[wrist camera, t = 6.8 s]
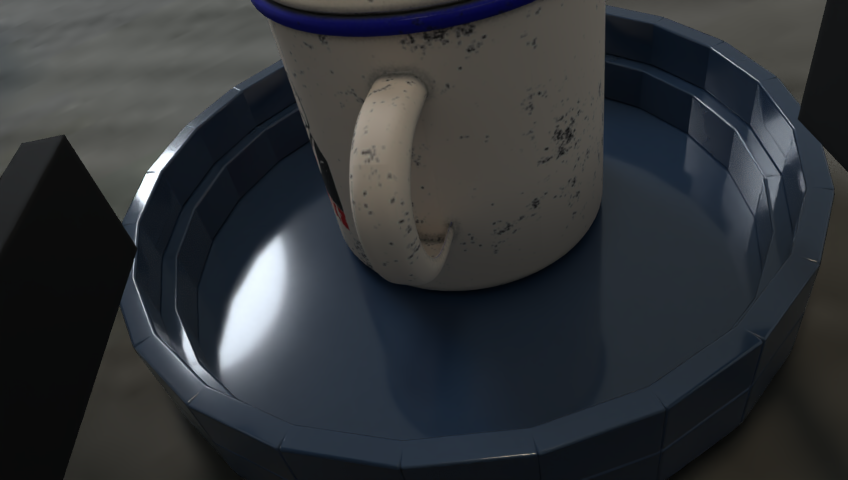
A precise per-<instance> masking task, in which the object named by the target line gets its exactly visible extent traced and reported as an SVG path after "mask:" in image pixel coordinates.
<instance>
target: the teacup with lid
mask: <svg viewBox="0 0 848 480" xmlns="http://www.w3.org/2000/svg"><path fill="white" fill-rule="evenodd" d="M251 2H252V3H253V5H254V6H255V7H256V9H257V10H258V11H260V12H261V13H262V14H263V15H264V16H266V17H267V19H268V21H269V24H270V27H271V30H272V33H273V36H274V39H275V42H276V45H277V47H278V50H279V53H280V56H281V59H282V62H283V65H284V68H285V71H286V73H287V76H288V79H289V82H290V85H291V88H292V91H293V94H294V97H295V99H296V102H297V105H298V108H299V111H300V114H301V117H302V120H303V123H304V125H305V128H306V131H307V134H308V137H309V140H310V143H311V146H312V149H313V151H314V154H315V157H316V160H317V163H318V166H319V169H320V172H321V175H322V178H323V180H324V183H325V186H326V189H327V192H328V195H329V198H330V201H331V204H332V206H333V209H334V212H335V215H336V218H337V221H338V224H339V227H340V230H341V232H342V235H343V237H344V239H345V241H346V243H347V244H348V246H349V248H350V249H351V250H352V252H353V253H354V254H355V255H356V256H357V257H358V258H359V259H360V260H361V261H362V262H363V263H364V264H365V265H367V266H368V267H369V268H371V269H372V270H374V271H375V272H377V273H378V274H379V275H380V276H381V277H383V278H384V279H386V280H387V281H389V282H392V283H395V284H402V285H409V286H413V287H417V288H422V289H429V290H438V291H468V290H478V289H484V288H490V287H495V286H499V285H503V284H507V283H510V282H513V281H516V280H519V279H522V278H524V277H527V276H529V275H531V274H533V273H536V272H538V271H540V270H542V269H543V268H545V267H547V266H549V265H550V264H552V263H554V262H555V261H557V260H558V259H559V258H561V257H562V256H564V255H565V254H566V253H567V252H568V251H570V250H571V249H572V248H573V247H574V246H575V245H576V244H577V243H578V242H579V241H580V240H581V239H582V238H583V236H584V235H585V234H586V232H587V231H588V230H589V228H590V226H591V225H592V223H593V221H594V219H595V217H596V215H597V213H598V210H599V207H600V203H601V199H602V190H603V133H604V70H605V7H606V0H251Z"/></svg>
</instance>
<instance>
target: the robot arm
mask: <svg viewBox="0 0 848 480" xmlns="http://www.w3.org/2000/svg"><path fill="white" fill-rule="evenodd" d="M798 120H799V121H800V122H801V123H802V124H803V125H804V126H805V127H806V128H807V130H808V131H809V132H810V133H811V134H812V135H813V136H814V137H815V138H816V139H817V140H818V141H819V142H820V143H821V144H822V145H823V146H824V147H825V148H826V149H827V151H828V152H829V153H830V154H831V155H832V156H833V157H834V158H835V159H836V160H837V161H838V162H839V163H840V164H841V165H842V166H843V167H844V168H845V169H846V171H847V172H848V0H827V3H826V7H825V11H824V15H823V19H822V23H821V27H820V31H819V35H818V39H817V43H816V47H815V51H814V55H813V59H812V63H811V67H810V71H809V75H808V79H807V83H806V87H805V91H804V95H803V99H802V103H801V107H800V111H799V115H798ZM137 249H138V248H137V247H136V245H135V244H134V242H133V241H132V239H131V237H130V236H129V234H128V233H127V231H126V230H125V228H124V227H123V225H122V223H121V222H120V220H119V219H118V217H117V216H116V214H115V213H114V211H113V209H112V208H111V206H110V205H109V203H108V202H107V200H106V199H105V197H104V196H103V194H102V192H101V191H100V189H99V188H98V186H97V185H96V183H95V182H94V180H93V178H92V177H91V175H90V174H89V172H88V171H87V169H86V168H85V166H84V164H83V163H82V161H81V160H80V158H79V157H78V155H77V154H76V152H75V150H74V149H73V147H72V146H71V144H70V143H69V141H68V140H67V138H66V136H65V135H60V136H55V137H51V138H46V139H41V140H36V141H31V142H26V143H22V144H21V146H20V147H19V149H18V150H17V152H16V154H15V155H14V157H13V158H12V160H11V162H10V163H9V165H8V167H7V168H6V170H5V171H4V173H3V175H2V176H1V178H0V480H63V478H64V475H65V472H66V469H67V466H68V463H69V459H70V456H71V453H72V450H73V447H74V444H75V441H76V438H77V435H78V432H79V428H80V425H81V422H82V419H83V416H84V413H85V410H86V407H87V404H88V401H89V398H90V394H91V391H92V388H93V385H94V382H95V379H96V376H97V373H98V370H99V367H100V364H101V360H102V357H103V354H104V351H105V348H106V345H107V342H108V339H109V336H110V333H111V329H112V326H113V323H114V320H115V317H116V314H117V311H118V308H119V305H120V302H121V299H122V295H123V292H124V289H125V286H126V283H127V280H128V277H129V274H130V271H131V268H132V264H133V261H134V258H135V255H136V252H137Z"/></svg>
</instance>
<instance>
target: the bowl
mask: <svg viewBox="0 0 848 480" xmlns="http://www.w3.org/2000/svg"><path fill="white" fill-rule="evenodd" d="M800 107H801V106H800V104H799V103H798V102H797V100H796V99H795V98H794V97H793V95H792V94H791V93H790V92H789V90H788V89H787V88H786V87H785V85H784V84H783V83H782V82H781V80H780V79H779V78H777V76H775V75H774V74H772V73H771V72H769V71H768V70H766V69H765V68H763V67H762V66H760V65H759V64H758V63H756V62H755V61H753V60H752V59H750V58H749V57H747V56H746V55H744V54H743V53H741V52H740V51H738V50H737V49H735V48H734V47H733V46H731V45H730V44H728V43H727V42H724V41H723V40H720V39H718V38H715V37H713V36H710V35H708V34H705V33H703V32H700V31H698V30H695V29H692V28H690V27H687V26H685V25H682V24H680V23H677V22H675V21H672V20H670V19H667V18H664V17H661V16H656V15H651V14H646V13H641V12H637V11H632V10H627V9H622V8H617V7H613V6H608V5H606V7H605V70H604V133H603V190H602V199H601V203H600V207H599V210H598V213H597V215H596V217H595V219H594V221H593V223H592V225H591V226H590V228H589V230H588V231H587V232H586V234H585V235H584V236H583V238H582V239H581V240H580V241H579V242H578V243H577V244H576V245H575V246H574V247H573V248H572V249H571V250H570V251H568V252H567V253H566V254H565V255H564V256H562V257H561V258H559V259H558V260H557V261H555V262H554V263H552V264H550V265H549V266H547V267H545V268H543V269H542V270H540V271H538V272H536V273H533V274H531V275H529V276H527V277H524V278H522V279H519V280H516V281H513V282H510V283H507V284H503V285H499V286H495V287H490V288H484V289H478V290H468V291H438V290H429V289H422V288H417V287H413V286H409V285H402V284H395V283H392V282H389V281H387V280H386V279H384V278H383V277H381V276H380V275H379V274H378V273H377V272H375V271H374V270H372V269H371V268H369V267H368V266H367V265H365V264H364V263H363V262H362V261H361V260H360V259H359V258H358V257H357V256H356V255H355V254H354V253H353V252H352V250H351V249H350V248H349V246H348V244H347V243H346V241H345V239H344V237H343V235H342V232H341V230H340V227H339V224H338V221H337V218H336V215H335V212H334V209H333V206H332V204H331V201H330V198H329V195H328V192H327V189H326V186H325V183H324V180H323V178H322V175H321V172H320V169H319V166H318V163H317V160H316V157H315V154H314V151H313V149H312V146H311V143H310V140H309V137H308V134H307V131H306V128H305V125H304V123H303V120H302V117H301V114H300V111H299V108H298V105H297V102H296V99H295V97H294V94H293V91H292V88H291V85H290V82H289V79H288V76H287V73H286V71H285V68H284V65H283V62H282V59H281V60H280V61H278V62H276V63H274V64H273V65H271V66H269V67H268V68H266V69H264V70H262V71H261V72H259V73H257V74H256V75H254V76H252V77H250V78H249V79H247V80H245V81H244V82H242V83H240V84H238V85H237V86H235V87H234V88H233V89H231V90H229V91H228V92H227V93H226V94H224V95H223V96H222V97H221V98H219V99H218V100H217V101H216V102H214V103H213V104H212V105H211V106H210V107H208V108H207V109H206V110H205V111H203V112H202V113H201V114H200V115H198V116H197V117H196V118H195V119H193V120H192V121H191V122H190V123H189V124H187V125H186V126H185V128H183V129H182V130H181V132H180V133H179V134H178V135H177V136H176V138H175V139H174V140H173V141H172V142H171V144H170V145H169V146H168V147H167V148H166V149H165V151H164V152H163V153H162V154H161V155H160V157H159V158H158V159H157V160H156V161H155V163H154V164H153V165H152V166H151V167H150V169H149V170H148V171H147V174H145V175H144V177H143V180H142V182H141V184H140V186H139V188H138V190H137V192H136V194H135V196H134V198H133V200H132V203H131V205H130V207H129V209H128V211H127V213H126V215H125V217H124V219H123V221H122V225H123V227H124V228H125V230H126V231H127V233H128V234H129V236H130V237H131V239H132V241H133V242H134V244H135V245H136V247H137V248H138V249H137V252H136V255H135V258H134V261H133V264H132V268H131V271H130V274H129V277H128V280H127V283H126V286H125V289H124V292H123V295H122V299H121V302H120V308H121V311H122V314H123V318H124V321H125V324H126V327H127V330H128V333H129V336H130V339H131V342H132V345H133V348H134V349H135V351H136V353H137V354H138V355H139V357H140V358H141V359H142V360H143V362H144V363H145V364H146V366H147V367H148V368H149V370H150V371H151V372H152V374H153V375H154V376H155V378H156V379H157V380H158V382H159V383H160V384H161V385H162V387H163V388H164V389H165V391H166V392H167V393H168V395H169V396H170V397H171V399H172V400H173V401H174V403H175V404H176V405H177V407H178V408H179V409H180V411H181V412H182V413H183V415H184V416H185V417H186V419H187V420H188V421H189V422H190V423H191V424H192V425H193V426H194V427H195V428H196V430H197V431H198V432H199V433H200V434H201V435H202V436H203V437H204V438H205V440H206V441H207V442H208V443H209V444H210V445H211V446H212V447H213V448H214V449H215V451H216V452H217V453H218V454H219V455H220V456H221V457H222V458H223V459H224V460H225V462H226V463H227V464H228V465H229V466H230V467H231V468H232V469H233V470H234V472H236V473H238V475H239V476H241V477H243V478H245V479H247V480H667V479H668V478H669V477H671V476H672V475H673V474H675V473H676V472H677V471H679V470H680V469H681V468H683V467H684V466H686V465H687V464H688V463H690V462H691V461H692V460H694V459H695V458H696V457H698V456H699V455H700V454H702V453H703V452H704V451H706V450H707V449H708V448H710V447H711V446H713V445H714V444H715V443H717V442H718V441H719V440H721V439H722V438H723V437H725V436H726V435H727V434H729V433H730V432H731V431H733V430H734V429H735V428H737V427H738V426H739V425H740V423H741V422H743V421H744V420H745V418H746V417H747V415H748V414H749V412H750V411H751V410H752V408H753V407H754V405H755V404H756V402H757V401H758V399H759V398H760V396H761V395H762V393H763V392H764V390H765V389H766V388H767V386H768V385H769V383H770V382H771V380H772V379H773V377H774V376H775V374H776V373H777V371H778V370H779V369H780V367H781V366H782V364H783V363H784V361H785V360H786V358H787V357H788V355H789V354H790V352H791V350H792V348H793V345H794V342H795V339H796V336H797V333H798V330H799V327H800V324H801V321H802V318H803V315H804V312H805V308H806V306H807V303H808V300H809V297H810V294H811V291H812V288H813V285H814V282H815V279H816V276H817V273H818V270H819V267H820V264H821V260H822V255H823V250H824V245H825V240H826V235H827V230H828V225H829V220H830V215H831V210H832V205H833V200H834V195H835V193H834V190H835V189H834V186H833V182H832V178H831V175H830V171H829V167H828V164H827V160H826V156H825V153H824V149H823V145H822V144H821V143H820V142H819V141H818V140H817V139H816V138H815V137H814V136H813V135H812V134H811V133H810V132H809V131H808V130H807V128H806V127H805V126H804V125H803V124H802V123H801V122H800V121H799V120H798V115H799V111H800Z"/></svg>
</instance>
